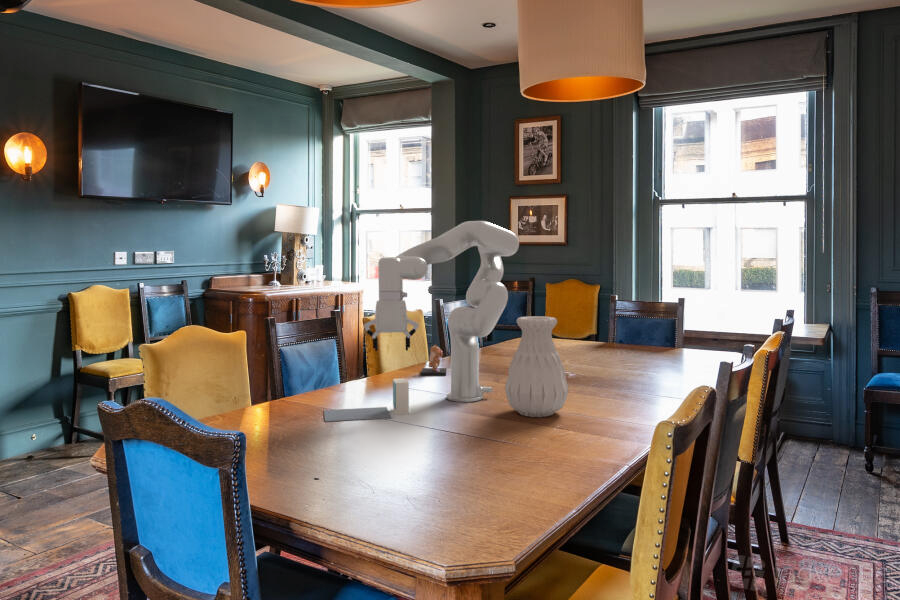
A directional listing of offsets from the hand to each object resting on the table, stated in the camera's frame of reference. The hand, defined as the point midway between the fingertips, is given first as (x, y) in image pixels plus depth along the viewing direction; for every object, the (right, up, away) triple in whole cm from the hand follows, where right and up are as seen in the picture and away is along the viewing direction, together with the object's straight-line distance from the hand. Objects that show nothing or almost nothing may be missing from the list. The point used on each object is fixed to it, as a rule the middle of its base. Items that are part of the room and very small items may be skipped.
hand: (391, 350), depth 220 cm
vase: (+46, -20, -2) cm, 50 cm away
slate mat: (-11, -20, -3) cm, 23 cm away
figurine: (+12, -15, +65) cm, 68 cm away
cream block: (+3, -20, 0) cm, 20 cm away
